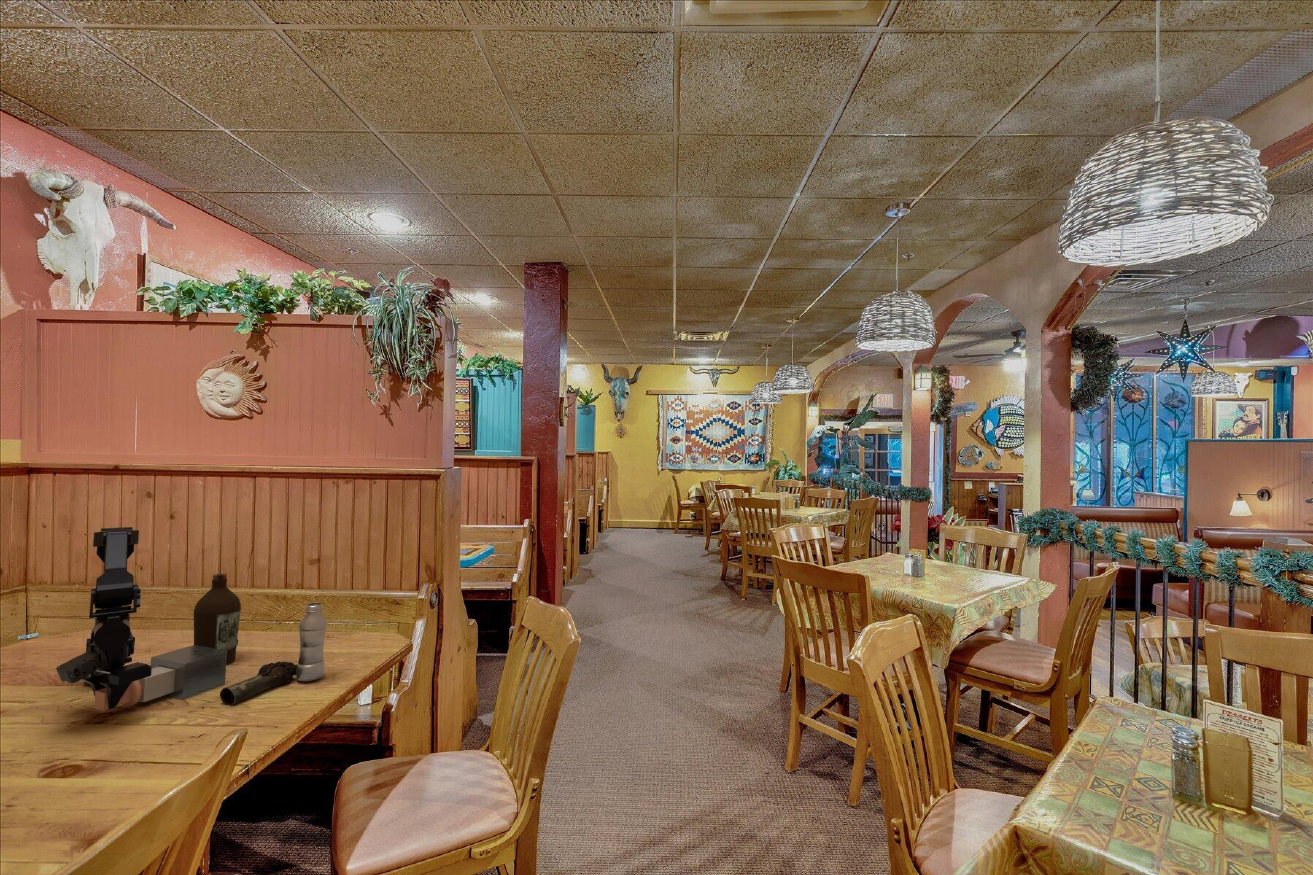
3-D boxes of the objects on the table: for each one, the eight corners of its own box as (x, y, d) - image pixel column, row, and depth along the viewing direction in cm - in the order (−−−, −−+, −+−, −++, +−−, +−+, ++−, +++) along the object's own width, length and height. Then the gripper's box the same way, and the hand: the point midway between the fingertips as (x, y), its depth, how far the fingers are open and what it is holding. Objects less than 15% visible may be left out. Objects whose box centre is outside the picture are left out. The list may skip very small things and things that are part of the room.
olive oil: (180, 667, 155) (185, 576, 156) (216, 654, 166) (221, 569, 166) (212, 671, 153) (218, 579, 154) (247, 658, 164) (252, 572, 165)
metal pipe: (233, 708, 133) (234, 683, 133) (213, 703, 135) (214, 680, 135) (301, 679, 150) (302, 658, 150) (282, 676, 152) (283, 655, 152)
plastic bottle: (303, 674, 153) (307, 600, 154) (329, 674, 154) (333, 601, 154) (289, 684, 147) (294, 607, 147) (317, 684, 147) (321, 607, 148)
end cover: (89, 712, 126) (91, 683, 126) (164, 687, 141) (166, 661, 141) (107, 717, 124) (109, 688, 125) (182, 691, 139) (184, 665, 139)
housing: (148, 691, 140) (151, 657, 140) (192, 677, 149) (194, 644, 150) (182, 699, 136) (184, 663, 136) (225, 683, 146) (227, 650, 146)
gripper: (37, 642, 122) (32, 715, 122) (93, 654, 117) (88, 730, 116) (101, 628, 133) (96, 695, 132) (155, 638, 127) (151, 708, 127)
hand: (106, 706), depth 127 cm, fingers closed on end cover, 3 cm apart
